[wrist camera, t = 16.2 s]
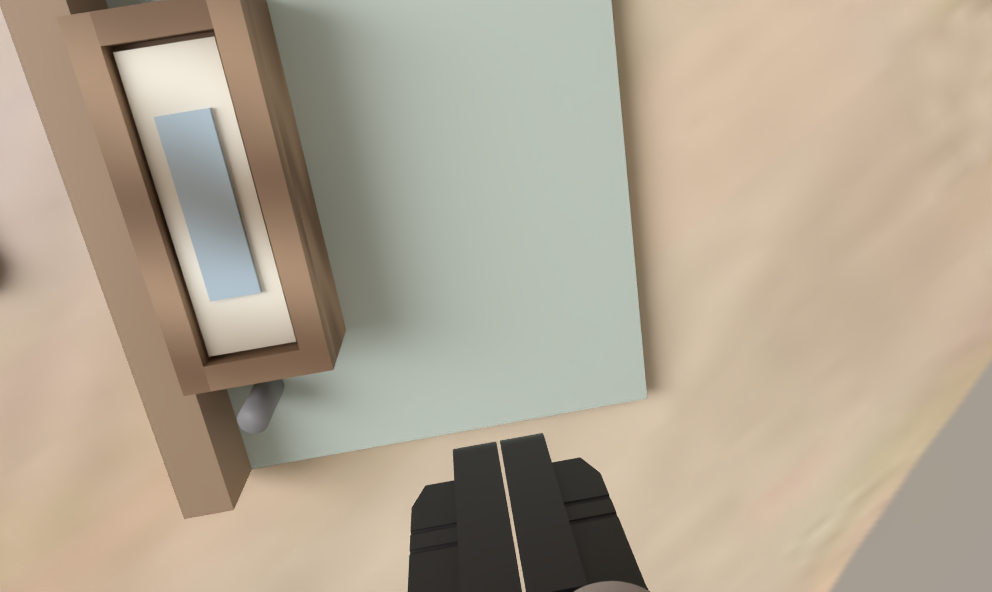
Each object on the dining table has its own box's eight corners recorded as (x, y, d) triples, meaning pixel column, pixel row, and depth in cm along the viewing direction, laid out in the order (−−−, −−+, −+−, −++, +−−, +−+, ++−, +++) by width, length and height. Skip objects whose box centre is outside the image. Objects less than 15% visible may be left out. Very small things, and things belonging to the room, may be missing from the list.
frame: (346, 330, 29) (333, 370, 26) (215, 352, 29) (183, 396, 26) (266, -1, 25) (236, -12, 21) (113, 23, 25) (55, 17, 21)
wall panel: (641, 388, 33) (668, 431, 29) (213, 464, 32) (184, 518, 28) (585, -214, 25) (612, -263, 21) (16, -129, 24) (-61, -164, 20)
